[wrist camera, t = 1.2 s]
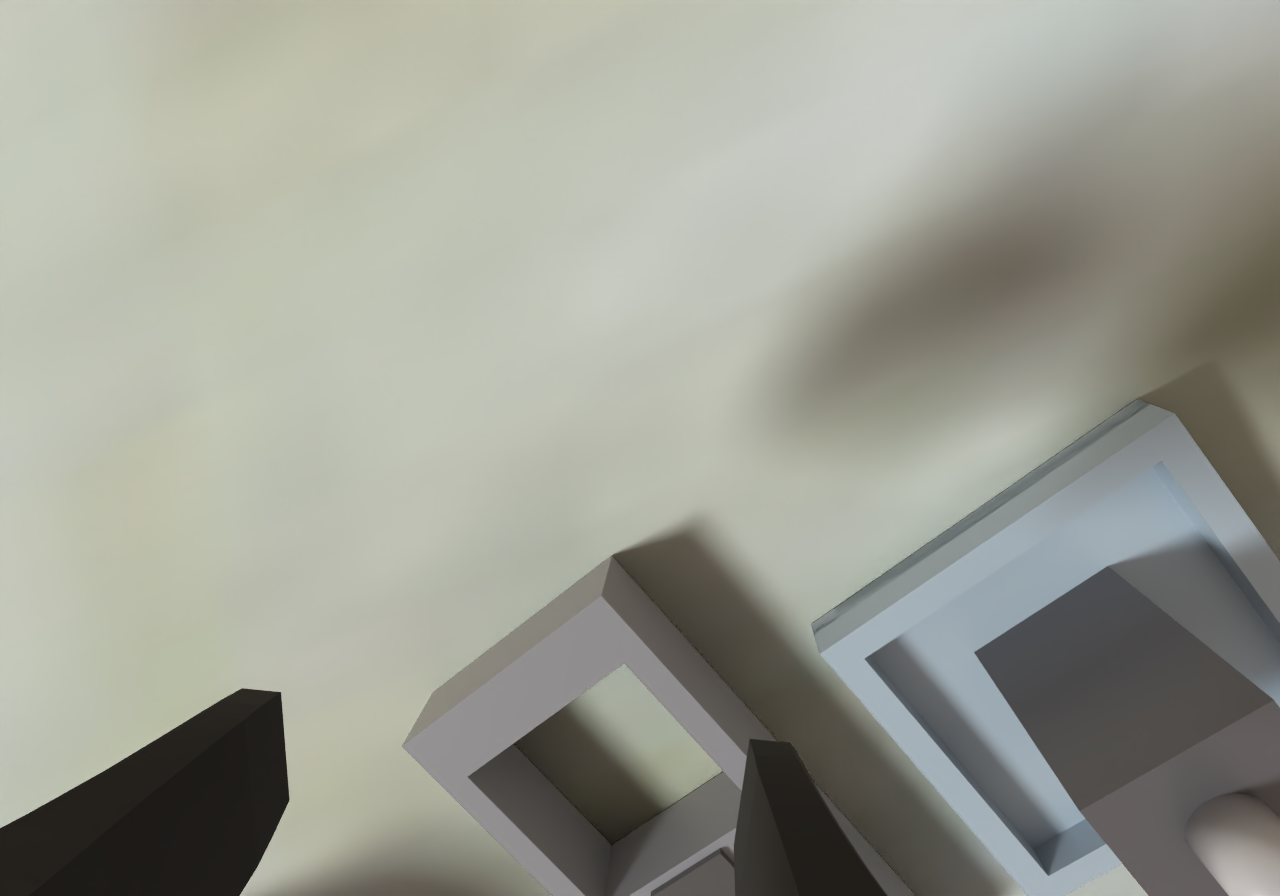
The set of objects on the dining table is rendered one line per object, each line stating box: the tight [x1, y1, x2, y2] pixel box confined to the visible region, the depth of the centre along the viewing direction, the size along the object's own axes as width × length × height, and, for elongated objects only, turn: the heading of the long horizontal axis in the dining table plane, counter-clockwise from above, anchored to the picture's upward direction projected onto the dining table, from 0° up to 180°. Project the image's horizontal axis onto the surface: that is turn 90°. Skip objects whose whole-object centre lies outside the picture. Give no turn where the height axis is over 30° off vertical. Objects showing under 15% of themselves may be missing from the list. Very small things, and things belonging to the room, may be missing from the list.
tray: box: [811, 399, 1280, 896], centre depth 21 cm, size 10×10×2 cm
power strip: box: [402, 556, 915, 896], centre depth 22 cm, size 15×7×3 cm, turn 40°
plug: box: [974, 566, 1280, 896], centre depth 17 cm, size 4×4×8 cm
